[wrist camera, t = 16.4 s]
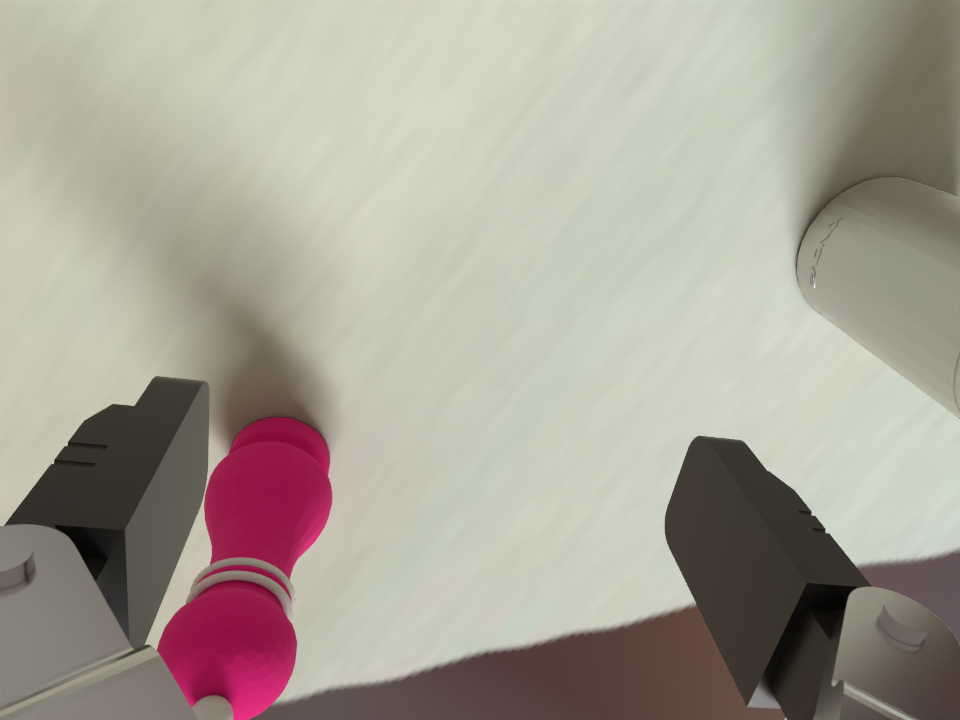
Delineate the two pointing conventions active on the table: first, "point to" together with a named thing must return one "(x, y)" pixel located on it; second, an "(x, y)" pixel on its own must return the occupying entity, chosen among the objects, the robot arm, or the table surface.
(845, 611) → the robot arm
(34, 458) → the table surface
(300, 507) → the pepper mill
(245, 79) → the table surface
